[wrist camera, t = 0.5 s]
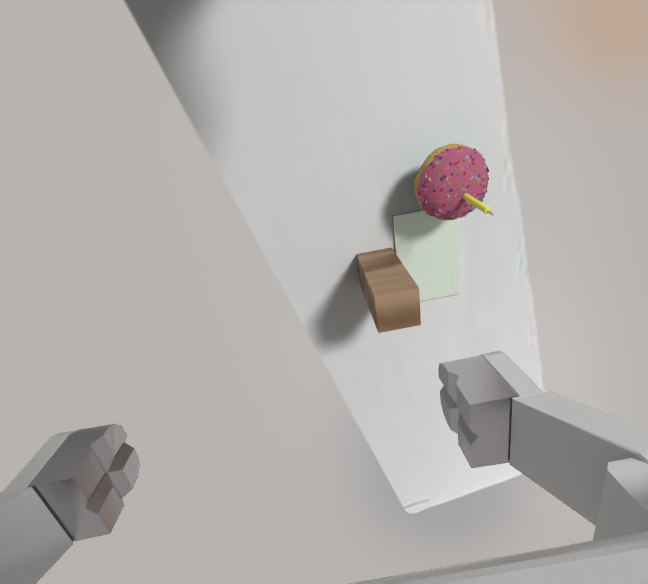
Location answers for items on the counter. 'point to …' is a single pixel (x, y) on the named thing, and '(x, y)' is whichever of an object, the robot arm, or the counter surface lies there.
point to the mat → (429, 252)
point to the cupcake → (452, 182)
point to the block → (389, 290)
